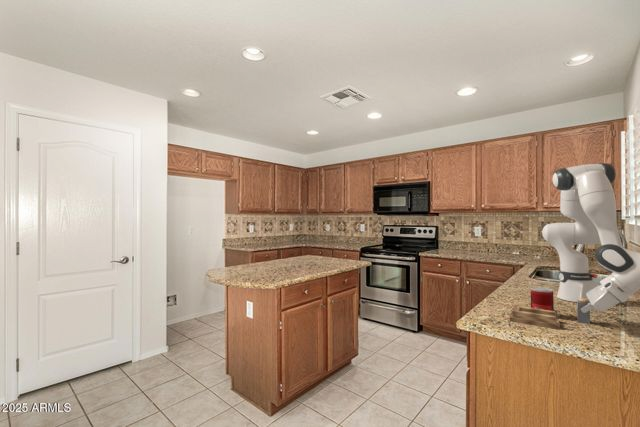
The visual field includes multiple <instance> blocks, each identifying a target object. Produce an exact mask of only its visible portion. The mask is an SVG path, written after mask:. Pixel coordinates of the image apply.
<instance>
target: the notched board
mask: <svg viewBox="0 0 640 427" xmlns="http://www.w3.org/2000/svg"><path fill="white" fill-rule="evenodd" d="M509 322H514V323H520V324H525V325H533V326H537V327H541V328H542V327H544V328H549V329H554V330H560V329H561V326H560V318H559V316H558V317H557V316H556V311H549V310H542V309H535V308H531V307H526V306H520V305H513V308H512V310H511V312H510V314H509Z"/></svg>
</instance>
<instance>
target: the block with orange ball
mask: <svg viewBox="0 0 640 427" xmlns="http://www.w3.org/2000/svg"><path fill="white" fill-rule="evenodd" d="M588 304H589V302H587V299H584V298H579V300H577V302H576V313H577V314H576V316H577V318H576V319H577V323H579V324H580V323H581V324H588V325H591V310H590V311H588V312H586V313H583V312H582V311H581V308H582V307H583V306H586V305H588Z"/></svg>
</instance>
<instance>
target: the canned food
mask: <svg viewBox="0 0 640 427" xmlns="http://www.w3.org/2000/svg"><path fill="white" fill-rule="evenodd" d="M554 298H555V297H554V289H553V288H548V287H545V286H543V287H542V286H532V287H530V308H535V309H542V310H549V311H554V310H555V309H554V304H555V303H554V301H555V300H554Z"/></svg>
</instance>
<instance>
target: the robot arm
mask: <svg viewBox="0 0 640 427" xmlns="http://www.w3.org/2000/svg"><path fill="white" fill-rule="evenodd" d="M615 181H616V169H615V167H614V166H613V165H612V164H611V163H606V162H599V163H589V164H587V163H586V164H580V165H575V166H569V167H562V168H559V169H556V170H555V171H554V172H553V174H552V183H553V184H552V185H553V187H554V188H555V189H557V190H558V191H560V196H559V197H560V202H559V204H560V205H559V211H560V213H561V214H562V215H563V216H565V217H566V218H569V219H572V220H574V221H575V222H554V223H553V222H552V223H547V224H545V225H544V227H543V228H542V229H541V230H542V231H541V235H542V238H543V240H544V241H546V242H547V243H548V244H550V245H551V246H552V247H554V249H555V251H556V252H557V254H558V258H559V266H560V267H559V268H560V269H559V271H558V272H559V273H558V274H559V275H558V277H559V278H558V280H559V286H558V291H557V295H556V298H558V299H560V300H564V301H568V302H574V303H577V300H579V298H584V299H587V302H589V304H588V305H586V306H583V307H582V308H581V311H582V312H583V313H586V312H588V311H590V312H591V311H592V310H597V311H598V312H605V311H608V310H609V309H611V308H612V307H615V306H616V305H618V304H620V303H625V302H627V301H628V300H629V298H630V297H631V296H632V295H634V294H635V293H637V292H638V290H639V289H640V252H637V251H633V250H630V249H628V248H625V247H624V245H623V242H622V239H621V235H620V231H619V228H618V224H617V200H616V195H615V191H614V188H613V185H612V184H613V183H614V182H615ZM598 244H599V245H600V246H599V247H598V248H596V250H595V252H594V258H595V261H596V262H597V264H599V265H600V266H601V267H602V268H603V270H605V271H607V273H608V272H609V273H611V274H608V275H607V276H606V277H605V278H603V279H601V280H600V281H599V283H600V284H599V283H598V282H596V281H595V280H593V279H597V278H599V275H598V274H597V273H596V274H595V273H591V272H589V258H588V256H587V255H586V254H585V253H583V252H581V251H578V250H576V249H574V248H573V247H572V246H573V245H587V246H590V245H598Z"/></svg>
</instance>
